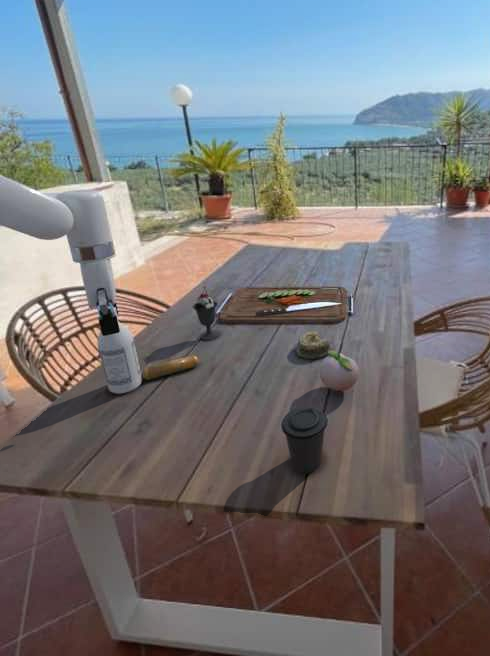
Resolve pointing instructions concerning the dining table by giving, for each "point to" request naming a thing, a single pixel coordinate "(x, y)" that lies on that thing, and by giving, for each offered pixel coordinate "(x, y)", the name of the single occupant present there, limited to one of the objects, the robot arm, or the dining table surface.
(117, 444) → the dining table surface
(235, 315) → the chopping board
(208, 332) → the sundae
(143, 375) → the breadstick
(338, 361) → the decorative fruit
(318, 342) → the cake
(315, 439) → the coffee cup
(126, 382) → the bath foam
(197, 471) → the dining table surface
